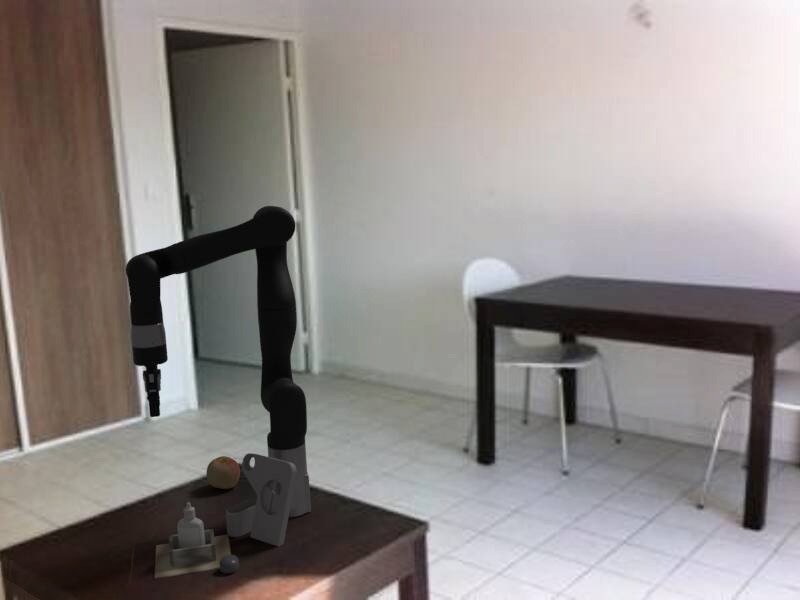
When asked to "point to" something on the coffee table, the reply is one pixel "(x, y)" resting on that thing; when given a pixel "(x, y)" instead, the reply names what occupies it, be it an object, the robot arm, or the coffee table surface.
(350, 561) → the coffee table surface
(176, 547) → the glass box on tray
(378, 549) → the coffee table surface
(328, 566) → the coffee table surface
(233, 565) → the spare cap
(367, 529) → the coffee table surface
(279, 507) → the phone holder
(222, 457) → the apple
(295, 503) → the robot arm
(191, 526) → the eye dropper bottle
